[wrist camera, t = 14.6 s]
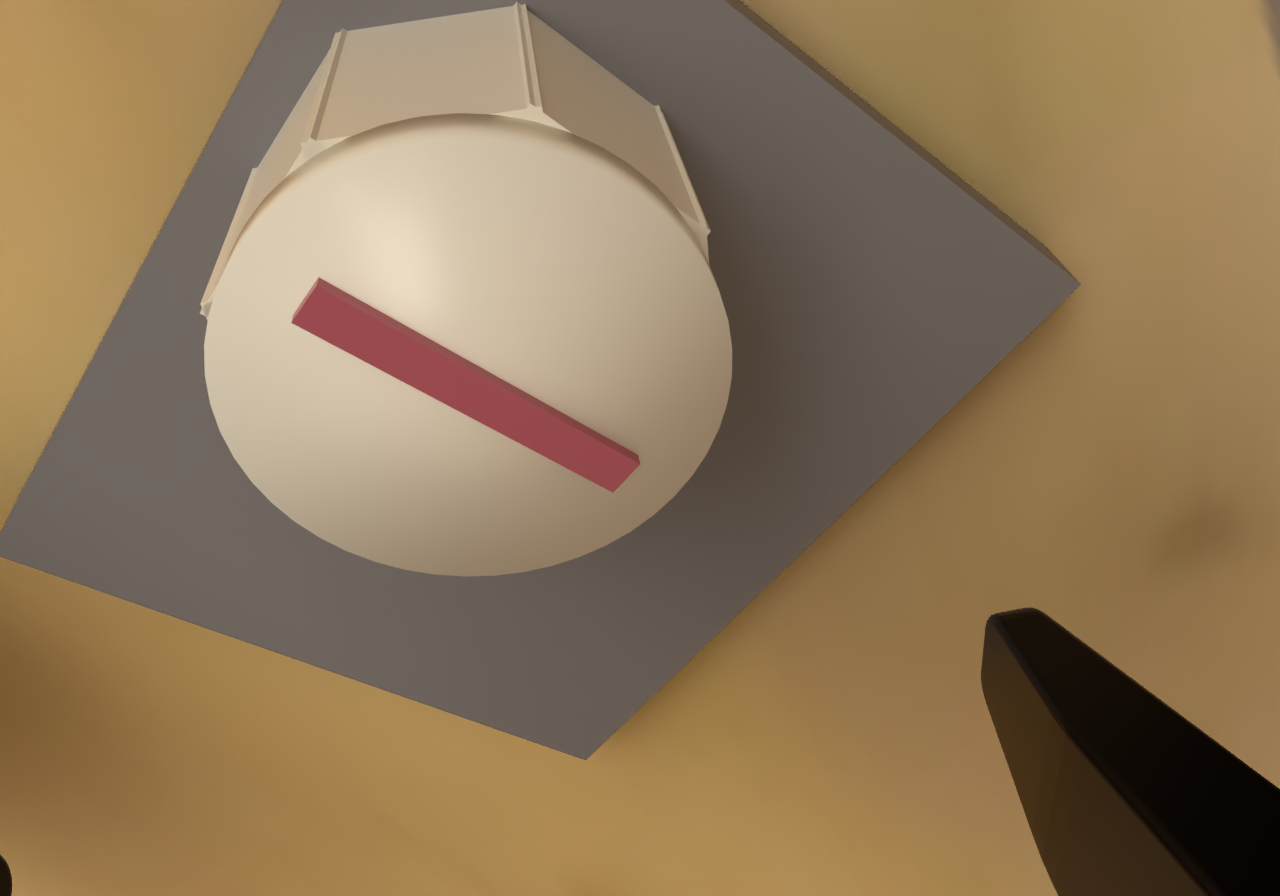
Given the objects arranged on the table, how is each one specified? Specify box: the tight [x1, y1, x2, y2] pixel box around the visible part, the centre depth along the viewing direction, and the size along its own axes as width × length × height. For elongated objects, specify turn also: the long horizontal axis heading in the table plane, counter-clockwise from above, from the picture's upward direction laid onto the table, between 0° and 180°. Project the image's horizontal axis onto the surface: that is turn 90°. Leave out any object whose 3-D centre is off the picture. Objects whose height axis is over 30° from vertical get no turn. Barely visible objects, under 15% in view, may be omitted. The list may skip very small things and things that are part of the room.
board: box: [0, 0, 1081, 760], centre depth 19 cm, size 16×14×5 cm
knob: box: [200, 1, 732, 577], centre depth 16 cm, size 7×7×5 cm
